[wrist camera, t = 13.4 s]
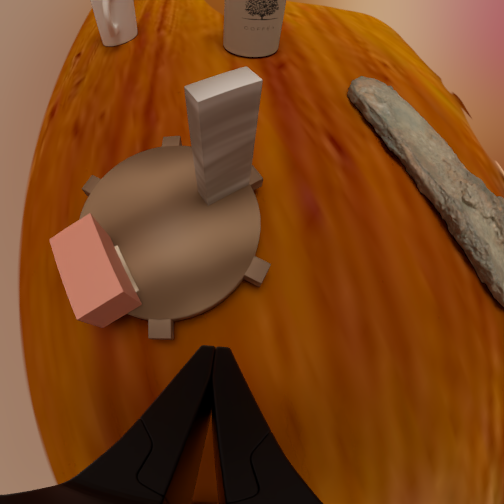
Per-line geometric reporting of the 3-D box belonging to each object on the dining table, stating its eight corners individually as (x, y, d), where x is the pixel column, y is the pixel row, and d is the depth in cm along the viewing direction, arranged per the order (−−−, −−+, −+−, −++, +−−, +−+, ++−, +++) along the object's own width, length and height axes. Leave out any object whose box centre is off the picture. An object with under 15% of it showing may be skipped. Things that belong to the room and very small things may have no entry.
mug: (105, 35, 37) (93, -17, 25) (140, 26, 38) (132, -28, 26) (95, 60, 33) (78, 0, 22) (136, 50, 34) (124, -14, 23)
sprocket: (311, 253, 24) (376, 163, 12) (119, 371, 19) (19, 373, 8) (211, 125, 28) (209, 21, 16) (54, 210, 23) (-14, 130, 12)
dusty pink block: (110, 236, 21) (90, 212, 17) (142, 304, 19) (123, 291, 16) (74, 259, 20) (49, 239, 16) (102, 327, 18) (77, 319, 15)
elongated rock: (373, 91, 36) (324, 105, 35) (383, 64, 31) (332, 74, 30) (526, 283, 25) (496, 330, 23) (552, 270, 20) (527, 321, 19)
